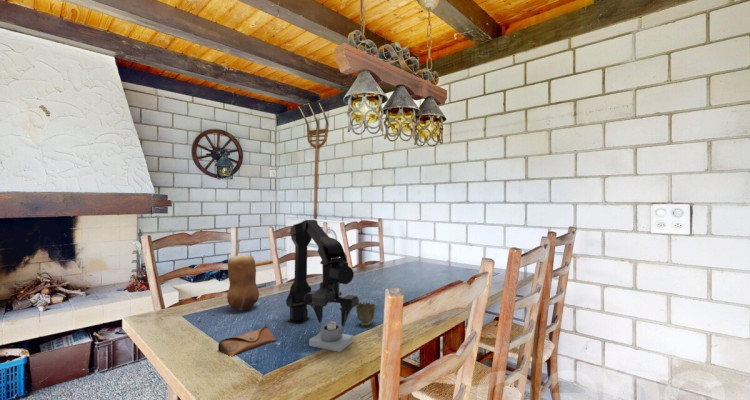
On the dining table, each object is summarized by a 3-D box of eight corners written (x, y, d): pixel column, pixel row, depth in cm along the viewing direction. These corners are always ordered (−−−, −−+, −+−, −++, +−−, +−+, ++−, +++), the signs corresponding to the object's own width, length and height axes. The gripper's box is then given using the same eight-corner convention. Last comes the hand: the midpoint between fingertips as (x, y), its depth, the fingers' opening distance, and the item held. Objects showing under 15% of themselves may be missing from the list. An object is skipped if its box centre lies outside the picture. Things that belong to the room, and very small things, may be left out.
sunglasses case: (230, 358, 103) (225, 336, 105) (221, 363, 107) (216, 343, 109) (280, 339, 117) (274, 321, 119) (270, 345, 121) (265, 327, 123)
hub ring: (316, 339, 111) (316, 329, 111) (328, 332, 118) (328, 322, 118) (334, 343, 108) (334, 332, 108) (345, 335, 115) (345, 325, 115)
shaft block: (309, 345, 112) (309, 324, 112) (324, 335, 120) (324, 316, 120) (339, 352, 106) (339, 330, 107) (353, 341, 115) (353, 321, 115)
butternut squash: (237, 304, 159) (237, 252, 159) (264, 305, 157) (263, 252, 157) (220, 314, 145) (220, 257, 145) (249, 315, 143) (248, 257, 143)
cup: (373, 329, 126) (372, 308, 126) (354, 328, 127) (354, 307, 127) (376, 322, 133) (376, 302, 133) (359, 321, 134) (358, 301, 134)
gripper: (293, 281, 110) (294, 328, 110) (342, 286, 102) (342, 337, 102) (313, 274, 120) (314, 317, 120) (359, 279, 112) (359, 325, 112)
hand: (331, 324), depth 113 cm, fingers open, 9 cm apart
